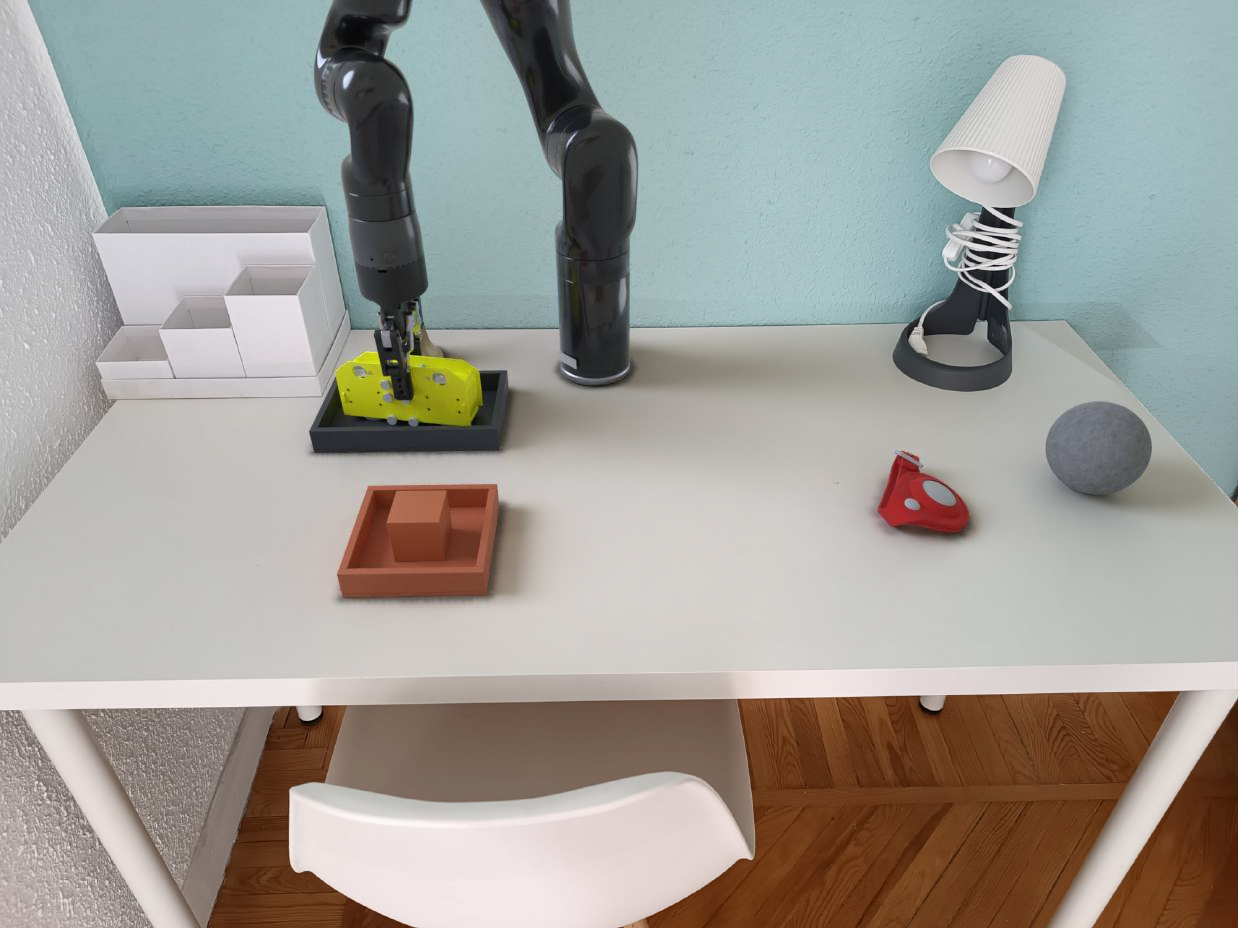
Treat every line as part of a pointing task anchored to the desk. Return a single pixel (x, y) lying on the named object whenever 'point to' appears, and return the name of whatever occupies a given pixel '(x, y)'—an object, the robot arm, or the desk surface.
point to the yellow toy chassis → (435, 385)
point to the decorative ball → (1098, 447)
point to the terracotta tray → (459, 575)
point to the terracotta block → (420, 526)
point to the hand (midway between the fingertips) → (409, 383)
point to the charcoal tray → (380, 436)
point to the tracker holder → (920, 498)
